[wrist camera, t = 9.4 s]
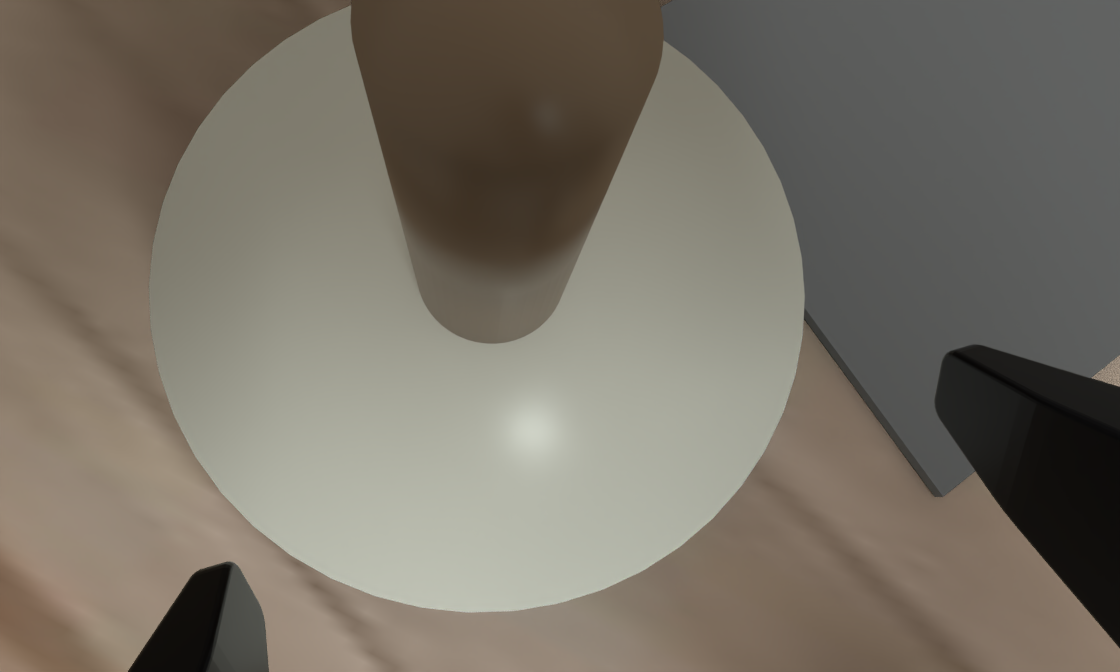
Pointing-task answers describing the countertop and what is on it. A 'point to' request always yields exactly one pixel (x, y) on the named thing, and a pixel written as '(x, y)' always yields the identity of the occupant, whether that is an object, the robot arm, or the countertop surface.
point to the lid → (477, 298)
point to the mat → (935, 181)
